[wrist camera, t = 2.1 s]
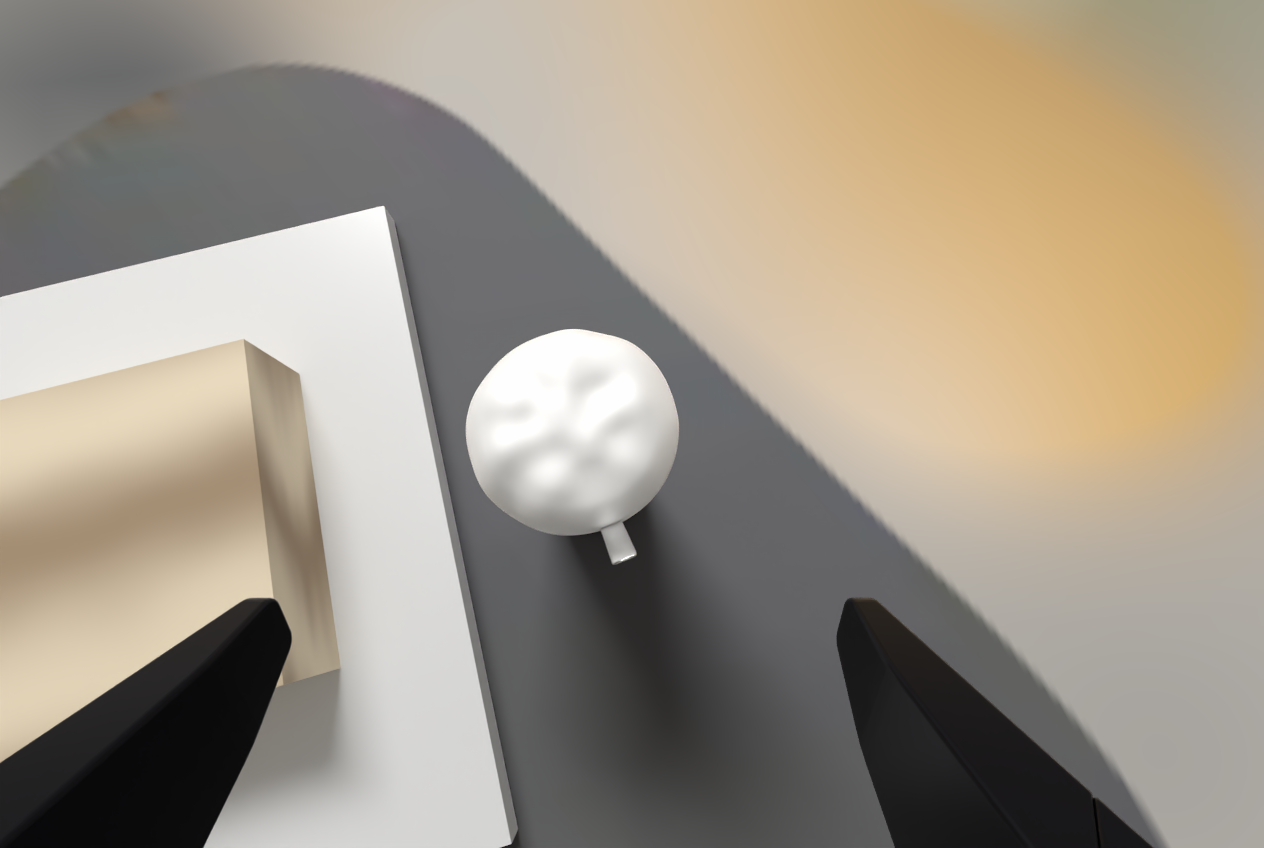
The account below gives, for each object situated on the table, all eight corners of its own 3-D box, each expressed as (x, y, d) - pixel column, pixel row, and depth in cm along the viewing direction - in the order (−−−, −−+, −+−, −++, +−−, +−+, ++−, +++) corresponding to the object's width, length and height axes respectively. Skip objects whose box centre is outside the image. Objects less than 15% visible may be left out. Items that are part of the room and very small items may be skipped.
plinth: (340, 668, 18) (283, 684, 15) (0, 769, 17) (-131, 808, 14) (299, 374, 20) (243, 338, 17) (2, 450, 19) (-108, 427, 16)
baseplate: (517, 829, 17) (511, 843, 16) (-114, 1036, 16) (-162, 1065, 15) (394, 221, 23) (383, 205, 22) (-80, 335, 22) (-113, 324, 21)
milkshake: (564, 597, 19) (495, 613, 9) (513, 451, 20) (409, 334, 11) (689, 546, 20) (746, 511, 10) (632, 407, 21) (633, 257, 11)
